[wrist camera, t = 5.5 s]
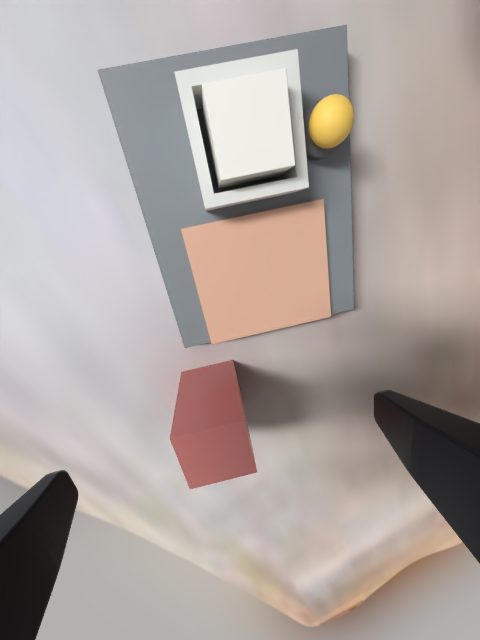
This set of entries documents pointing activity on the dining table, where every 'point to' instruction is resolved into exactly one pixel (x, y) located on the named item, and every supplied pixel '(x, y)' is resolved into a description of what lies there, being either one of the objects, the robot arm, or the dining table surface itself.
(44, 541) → the robot arm
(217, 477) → the red rectangular block
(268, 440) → the dining table surface
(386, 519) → the dining table surface
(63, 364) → the dining table surface
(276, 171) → the block
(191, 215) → the panel
